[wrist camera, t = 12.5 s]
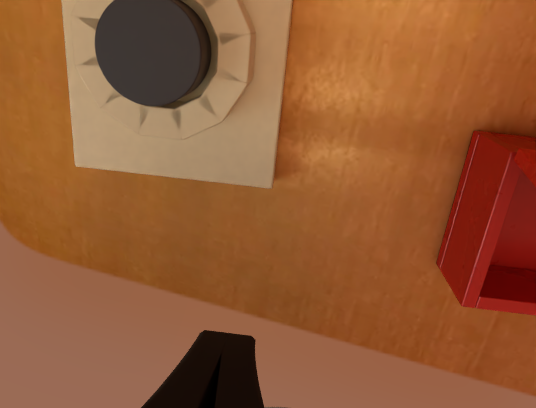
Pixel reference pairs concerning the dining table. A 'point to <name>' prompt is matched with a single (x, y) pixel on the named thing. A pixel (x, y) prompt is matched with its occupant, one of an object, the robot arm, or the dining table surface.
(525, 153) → the red box lid
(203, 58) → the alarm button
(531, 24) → the dining table surface
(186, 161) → the dial knob panel
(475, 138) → the red rectangular open box
